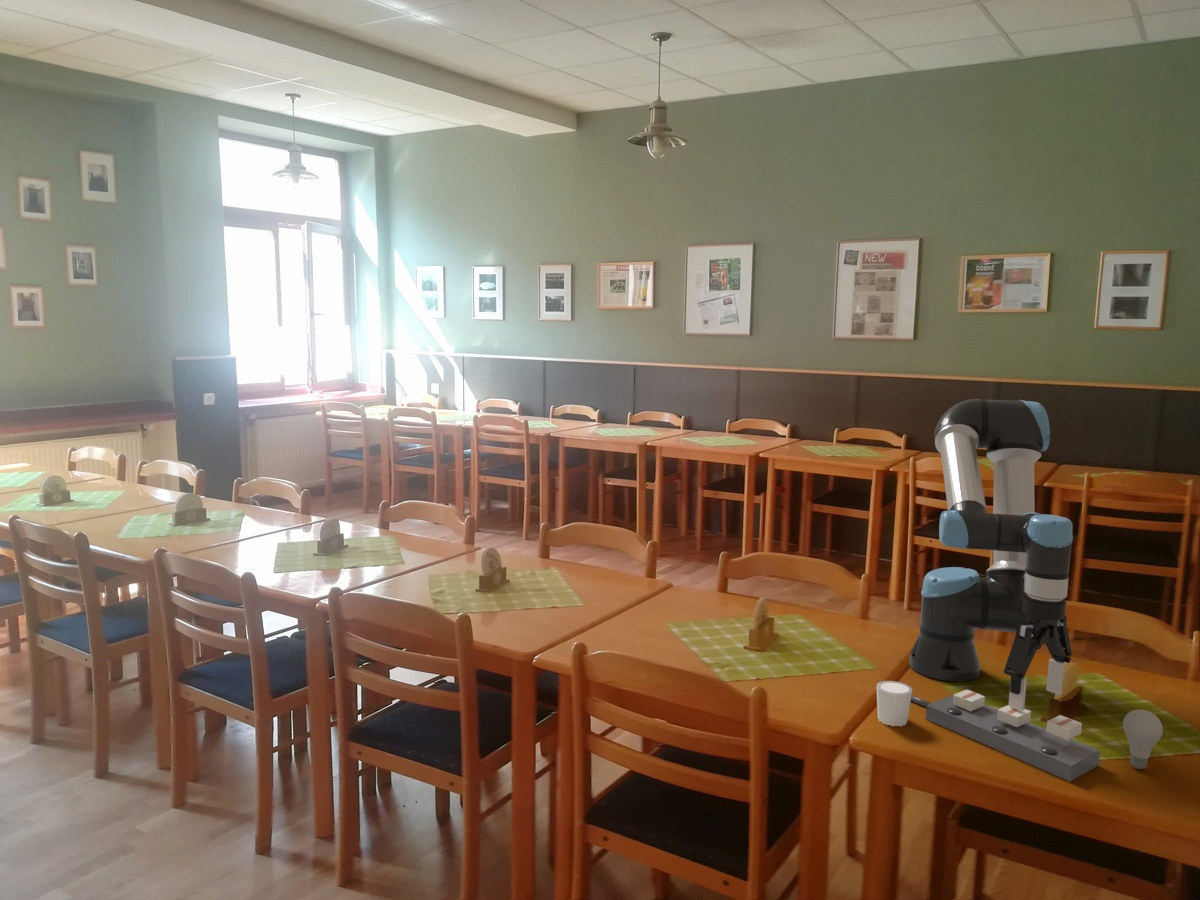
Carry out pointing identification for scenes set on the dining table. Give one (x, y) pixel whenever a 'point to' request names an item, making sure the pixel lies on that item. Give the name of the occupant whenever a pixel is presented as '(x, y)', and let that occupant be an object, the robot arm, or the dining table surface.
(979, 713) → the power strip
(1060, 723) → the far end switch
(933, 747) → the dining table surface
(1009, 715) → the middle switch
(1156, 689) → the dining table surface
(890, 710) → the white cup
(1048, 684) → the robot arm
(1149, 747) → the lightbulb
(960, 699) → the cord end switch
